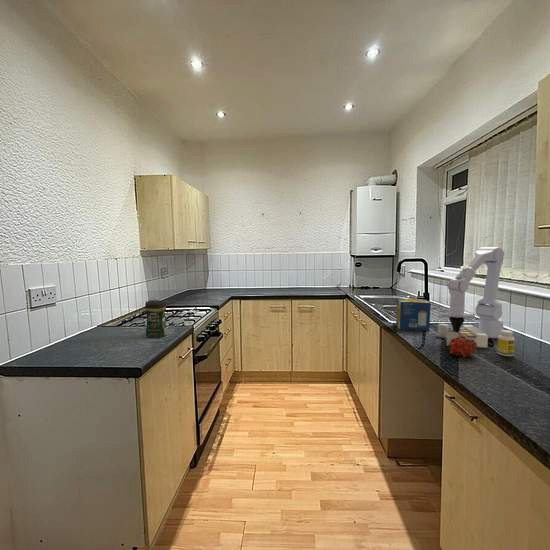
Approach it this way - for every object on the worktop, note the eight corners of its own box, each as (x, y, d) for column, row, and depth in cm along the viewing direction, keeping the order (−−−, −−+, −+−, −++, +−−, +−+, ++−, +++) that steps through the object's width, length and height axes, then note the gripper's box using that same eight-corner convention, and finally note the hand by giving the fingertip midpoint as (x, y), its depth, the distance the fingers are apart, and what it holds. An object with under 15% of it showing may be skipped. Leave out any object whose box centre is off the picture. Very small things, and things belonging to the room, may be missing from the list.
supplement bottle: (509, 357, 123) (510, 333, 122) (494, 353, 127) (495, 330, 127) (516, 355, 125) (517, 331, 124) (501, 351, 130) (502, 328, 129)
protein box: (395, 325, 176) (396, 298, 174) (424, 326, 173) (425, 299, 171) (399, 329, 165) (399, 301, 164) (430, 331, 162) (431, 302, 161)
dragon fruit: (479, 360, 124) (449, 364, 125) (468, 343, 130) (439, 347, 131) (485, 348, 118) (453, 352, 119) (474, 330, 125) (443, 334, 126)
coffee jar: (143, 338, 153) (142, 301, 151) (150, 334, 161) (149, 299, 159) (162, 338, 152) (161, 301, 151) (169, 334, 160) (167, 299, 159)
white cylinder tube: (446, 335, 154) (446, 323, 153) (449, 338, 149) (449, 326, 149) (436, 335, 155) (437, 323, 154) (439, 337, 151) (439, 325, 150)
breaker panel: (471, 336, 152) (472, 325, 152) (487, 347, 135) (487, 334, 134) (455, 335, 154) (456, 324, 154) (468, 346, 137) (469, 333, 136)
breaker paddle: (468, 334, 144) (468, 332, 144) (470, 335, 141) (470, 333, 141) (459, 333, 144) (460, 331, 144) (461, 335, 142) (461, 332, 142)
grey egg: (456, 344, 139) (456, 331, 139) (459, 347, 135) (459, 334, 135) (445, 344, 140) (445, 331, 140) (448, 347, 136) (448, 333, 136)
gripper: (442, 305, 141) (441, 334, 142) (478, 306, 137) (476, 336, 138) (438, 302, 147) (437, 330, 149) (472, 304, 144) (470, 332, 145)
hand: (455, 333), depth 144 cm, fingers closed
